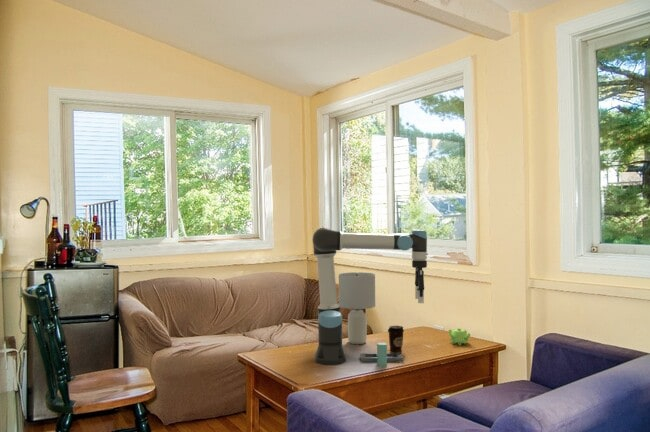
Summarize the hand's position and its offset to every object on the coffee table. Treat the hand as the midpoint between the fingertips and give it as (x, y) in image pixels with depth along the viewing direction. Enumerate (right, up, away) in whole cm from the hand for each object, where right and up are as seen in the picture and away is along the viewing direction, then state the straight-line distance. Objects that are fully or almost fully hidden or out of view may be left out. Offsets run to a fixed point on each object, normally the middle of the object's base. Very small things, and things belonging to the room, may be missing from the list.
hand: (419, 301), depth 267 cm
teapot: (+25, -27, +18) cm, 40 cm away
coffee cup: (-12, -27, +2) cm, 29 cm away
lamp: (-31, -27, +22) cm, 47 cm away
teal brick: (-22, -27, -21) cm, 41 cm away
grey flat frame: (-21, -27, -12) cm, 36 cm away
